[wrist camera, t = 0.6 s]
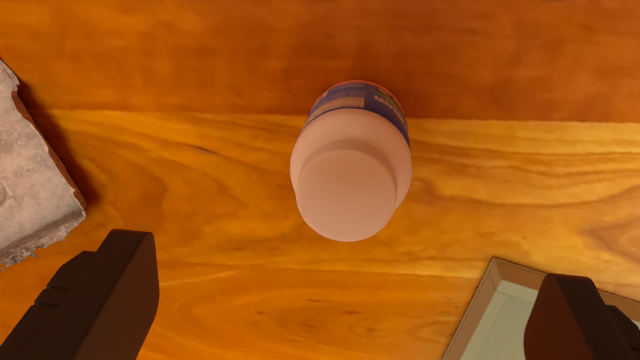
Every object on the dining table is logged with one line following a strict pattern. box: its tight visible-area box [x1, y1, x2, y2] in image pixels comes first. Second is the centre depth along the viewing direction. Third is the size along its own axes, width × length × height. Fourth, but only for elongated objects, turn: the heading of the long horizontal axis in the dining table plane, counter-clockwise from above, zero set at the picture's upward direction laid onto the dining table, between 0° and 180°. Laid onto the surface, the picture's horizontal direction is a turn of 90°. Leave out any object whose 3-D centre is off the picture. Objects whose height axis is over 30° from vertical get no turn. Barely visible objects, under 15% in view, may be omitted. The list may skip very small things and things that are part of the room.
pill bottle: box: [290, 80, 412, 242], centre depth 25 cm, size 5×5×10 cm
